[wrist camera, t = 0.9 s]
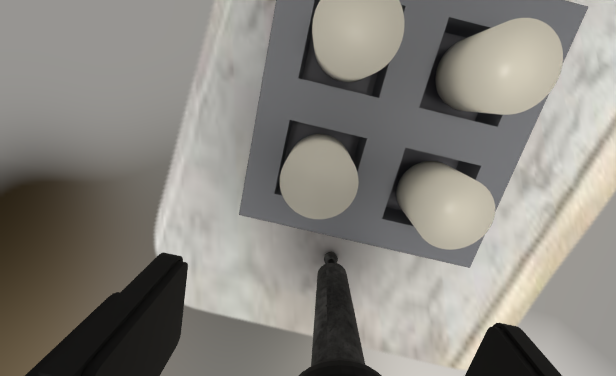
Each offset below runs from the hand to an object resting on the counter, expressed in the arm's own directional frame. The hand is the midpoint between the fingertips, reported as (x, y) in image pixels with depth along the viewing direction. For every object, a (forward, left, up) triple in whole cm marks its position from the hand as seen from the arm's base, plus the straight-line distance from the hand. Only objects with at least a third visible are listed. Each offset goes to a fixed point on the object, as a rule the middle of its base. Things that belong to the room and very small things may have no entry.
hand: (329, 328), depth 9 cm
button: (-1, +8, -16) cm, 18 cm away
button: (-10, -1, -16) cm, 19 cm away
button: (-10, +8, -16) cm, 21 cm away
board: (-6, +4, -19) cm, 20 cm away
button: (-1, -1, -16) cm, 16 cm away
